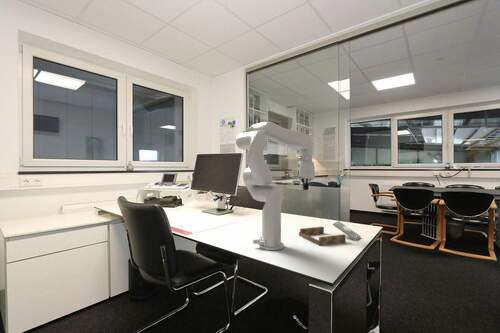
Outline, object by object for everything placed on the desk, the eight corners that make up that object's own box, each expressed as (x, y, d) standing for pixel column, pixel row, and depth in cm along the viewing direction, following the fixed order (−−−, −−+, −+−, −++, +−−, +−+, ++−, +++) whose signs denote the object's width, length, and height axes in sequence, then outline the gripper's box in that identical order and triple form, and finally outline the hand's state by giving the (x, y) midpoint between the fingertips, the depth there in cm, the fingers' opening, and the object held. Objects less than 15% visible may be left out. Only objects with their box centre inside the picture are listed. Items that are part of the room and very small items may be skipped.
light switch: (357, 238, 125) (334, 222, 134) (351, 246, 127) (329, 230, 136) (361, 234, 132) (339, 219, 140) (356, 242, 134) (334, 227, 142)
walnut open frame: (319, 245, 118) (319, 237, 118) (298, 235, 136) (298, 228, 136) (345, 242, 123) (345, 234, 123) (322, 233, 142) (322, 226, 142)
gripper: (298, 158, 131) (298, 190, 131) (320, 159, 136) (320, 190, 136) (291, 159, 139) (291, 189, 138) (312, 159, 144) (312, 189, 143)
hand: (305, 189), depth 137 cm, fingers closed
